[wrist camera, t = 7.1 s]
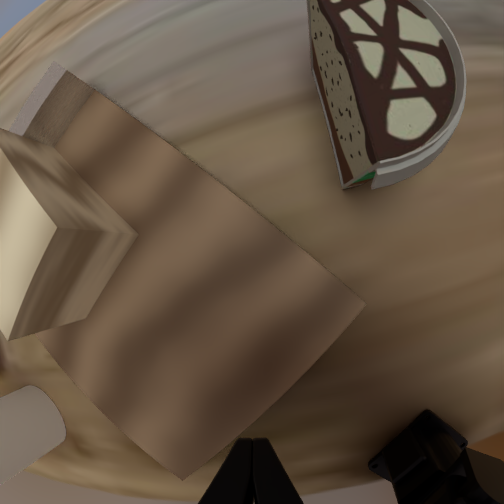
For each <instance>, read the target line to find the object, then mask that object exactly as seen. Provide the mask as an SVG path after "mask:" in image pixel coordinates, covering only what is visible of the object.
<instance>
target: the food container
mask: <svg viewBox="0 0 504 504" xmlns="http://www.w3.org/2000/svg"><path fill="white" fill-rule="evenodd" d="M307 10H308V23H309V38H310V55H311V70H312V74H313V77H314V80H315V84H316V87H317V90H318V94H319V97H320V101H321V104H322V108H323V112H324V116H325V119H326V123H327V127H328V131H329V135H330V139H331V143H332V147H333V151H334V156H335V160H336V164H337V169H338V173H339V178H340V183H341V187H342V190H344V189H348V188H352V187H356V186H359V185H361V184H363V183H365V182H367V181H369V180H371V179H373V178H374V179H373V181H372V184H371V189H376V188H380V187H384V186H389V185H393V184H395V183H397V182H400V181H402V180H404V179H407V178H409V177H411V176H413V175H415V174H416V173H418V172H419V171H421V170H422V169H424V168H425V167H427V166H428V165H429V164H430V163H431V162H432V161H433V160H434V159H435V158H436V157H437V156H438V155H439V154H440V153H441V152H442V150H443V149H444V147H445V146H446V144H447V143H448V141H449V140H450V138H451V136H452V134H453V132H454V131H455V129H456V127H457V125H458V122H459V120H460V117H461V114H462V112H463V109H464V103H465V96H466V71H465V64H464V60H463V56H462V53H461V50H460V47H459V45H458V43H457V41H456V39H455V37H454V35H453V33H452V31H451V30H450V28H449V27H448V25H447V24H446V22H445V21H444V20H443V18H442V17H441V16H440V15H439V14H438V13H437V11H436V10H435V9H434V8H433V7H432V6H431V5H430V4H429V3H427V2H426V1H425V0H307Z"/></svg>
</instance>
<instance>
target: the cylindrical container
mask: <svg viewBox="0 0 504 504" xmlns="http://www.w3.org/2000/svg"><path fill="white" fill-rule="evenodd" d="M65 437H66V428H65V424H64V421H63V418H62V416H61V414H60V412H59V410H58V409H57V407H56V406H55V404H54V403H53V401H52V400H51V399H50V398H49V396H48V395H47V394H45V393H44V392H43V391H42V390H41V389H39V388H38V387H36V386H33V385H28V386H25V387H23V388H21V389H19V390H16V391H14V392H12V393H10V394H7V395H5V396H3V397H0V485H2V484H3V483H5V482H6V481H8V480H9V479H10V478H12V477H13V476H15V475H16V474H18V473H19V472H21V471H22V470H24V469H25V468H27V467H28V466H29V465H31V464H32V463H34V462H35V461H37V460H38V459H39V458H41V457H42V456H44V455H45V454H47V453H48V452H49V451H51V450H52V449H54V448H55V447H56V446H58V445H59V444H61V443H62V442H63V441H64V440H65Z"/></svg>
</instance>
